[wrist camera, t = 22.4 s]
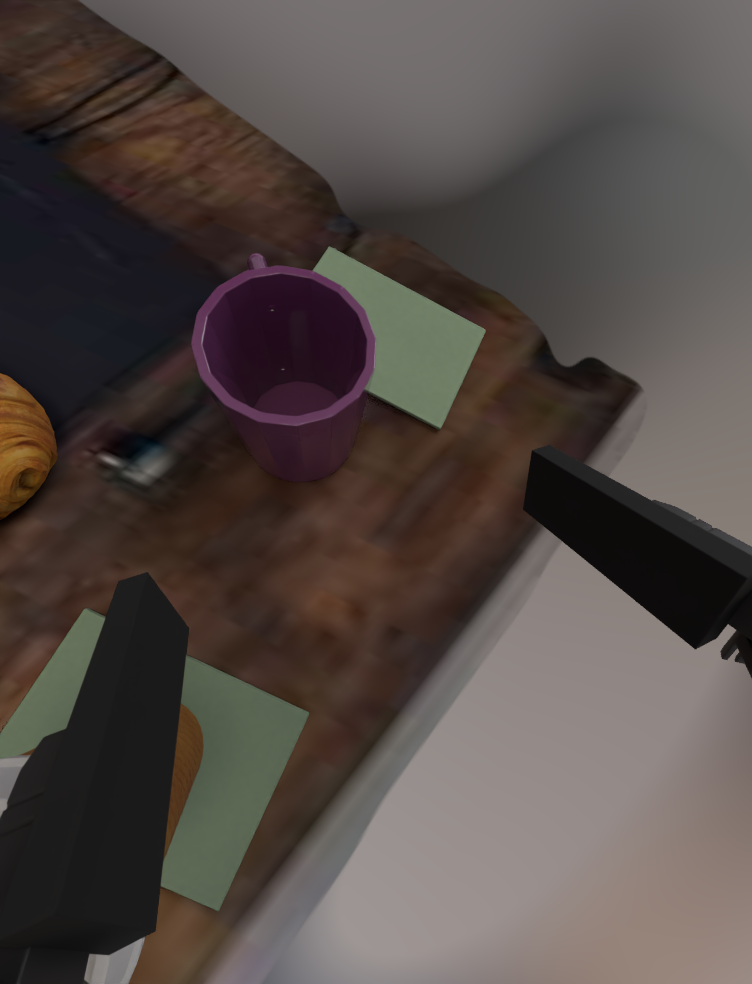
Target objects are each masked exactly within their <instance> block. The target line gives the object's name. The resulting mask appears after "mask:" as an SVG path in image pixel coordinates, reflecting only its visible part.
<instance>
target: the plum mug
mask: <svg viewBox="0 0 752 984" xmlns="http://www.w3.org/2000/svg"><path fill="white" fill-rule="evenodd" d="M247 264H248V269H249V270H247V271H244V272H243V273H241V274H239V275H237V276H236V277H234V278H232V279H230V280H228V281H227V282H225V283H223V284H221V285H219V286H218V287H217V288H216V289H215V290H214V291H213V293H212V294H211V295H210V297H209V298H208V299H207V301H206V302H205V303H204V304H203V306H202V307H201V308H200V310H199V311H198V313H197V316H196V321H195V326H194V332H193V337H192V342H191V347H192V351H193V354H194V358H195V361H196V365H197V368H198V372H199V375H200V377H201V379H202V381H203V383H204V384H205V386H206V387H207V389H208V390H209V392H210V394H211V395H212V397H213V398H214V400H215V401H216V403H217V405H218V406H219V408H220V409H221V411H222V413H223V414H224V416H225V417H226V419H227V420H228V422H229V424H230V425H231V427H232V428H233V430H234V432H235V433H236V435H237V436H238V438H239V439H240V441H241V443H242V444H243V446H244V447H245V449H246V451H247V452H248V453H249V454H250V456H251V457H252V458H253V459H254V461H255V462H256V463H257V464H258V465H259V466H260V467H261V468H262V469H263V470H265V471H266V472H267V473H269V474H271V475H272V476H274V477H277V478H279V479H282V480H286V481H291V482H311V481H315V480H319V479H321V478H324V477H326V476H328V475H330V474H332V473H333V472H334V471H336V470H337V469H338V468H339V467H340V466H341V465H342V464H343V463H344V462H345V461H346V459H347V458H348V456H349V455H350V453H351V450H352V448H353V446H354V444H355V441H356V437H357V434H358V430H359V426H360V422H361V419H362V415H363V411H364V407H365V404H366V400H367V396H368V393H369V389H370V385H371V381H372V378H373V374H374V370H375V359H376V342H377V340H376V337H375V334H374V331H373V329H372V326H371V324H370V321H369V318H368V316H367V313H366V311H365V309H364V308H363V307H362V306H361V305H360V304H359V303H358V302H357V301H356V300H355V299H354V297H353V296H352V295H351V294H350V293H349V292H348V291H347V290H346V289H345V288H344V287H343V286H341V285H339V284H337V283H336V282H334V281H332V280H330V279H328V278H326V277H324V276H322V275H321V274H319V273H317V272H314V271H311V270H305V269H299V268H293V267H287V266H272V267H268V264H267V261H266V259H265V258H264V257H263V256H262V255H261V254H258V253H253V254H251V255H250V256H249V258H248V261H247Z"/></svg>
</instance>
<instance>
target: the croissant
mask: <svg viewBox="0 0 752 984" xmlns="http://www.w3.org/2000/svg"><path fill="white" fill-rule="evenodd" d="M57 458H58V454H57V445H56V439H55V437H54V431H53V429H52V426H51V423H50V420H49V418H48V416H47V415H46V413H45V410H44V409H43V408H42V406H41V405H40V404H39V403H38V402H37V401H36V400H35V399H34V398H33V397H32V395H31V394H30V393H29V392H28V391H27V390H25V389H24V388H23V387H21V386H20V385H19V384H18V383H16V382H15V381H14V380H13V379H12V378H10V377H9V376H7V375H3V374H1V373H0V520H1V519H3V518H5V517H6V516H7V515H8V514H10V513H11V512H13V511H14V510H16V509H18V508H19V507H21V506H22V505H24V504H25V503H26V501H27V500H28V499H29V498H30V497H32V496H33V495H34V494H35V492H36V491H37V490H38V489H39V488H40V486H41V484H43V482H44V481H45V480H46V477H47V476H48V473H49V471H50V469H51V468H52V467H53V465H54V464H55V462H56V461H57Z"/></svg>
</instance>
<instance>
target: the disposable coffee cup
mask: <svg viewBox="0 0 752 984" xmlns="http://www.w3.org/2000/svg"><path fill="white" fill-rule="evenodd" d="M203 748H204V744H203V734H202V731H201V727H200V724H199V723H198V721H197V719H196V717H195V716H194V715H193V713H192V712H191V711H190V710H189V709H188V708H187V707H185V706H184V705H183V704H181V707H180V716H179V725H178V734H177V743H176V752H175V761H174V770H173V779H172V788H171V797H170V806H169V815H168V823H167V832H166V841H165V850H164V858H165V856H166V855H167V852H168V848H169V845H170V844H171V841H172V838H173V835H174V833H175V830H176V827H177V825H178V823H179V819H180V816H181V815H182V812H183V809H184V807H185V804H186V800H187V799H188V796H189V793H190V791H191V788H192V785H193V783H194V780H195V778H196V775H197V773H198V771H199V767H200V764H201V760H202V757H203ZM34 750H35V748H34V749H32V750H30V751H28V752H25V753H23V754H20V755H18V756H13V757H7V758H2V759H0V817H1V815H2V813H3V811H4V810H6V809H7V804H6V803H7V801H8V798H9V796H10V794H11V791H12V789H13V786H14V784H15V782H16V779H17V777H18V774H19V772H20V770H21V768H22V767H23V765H24V764H25V763H26V761H27V760H28V758H29V757H30V756H31V754H32V753H33V751H34ZM163 862H164V859H163ZM144 939H145V937H143V938H141V939H139V940H138V941H136V942H134V943H132V944H130V945H128V946H126V947H124V948H122V949H120V950H118V951H116V952H115V953H113V954H111V955H97V954H89V958H88V963H87V968H86V973H85V978H84V980H85V981H87V982H88V983H89V984H128V983H129V981H130V978H131V976H132V974H133V971H134V969H135V967H136V964H137V961H138V958H139V956H140V953H141V950H142V947H143V944H144Z"/></svg>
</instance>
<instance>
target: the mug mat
mask: <svg viewBox="0 0 752 984" xmlns="http://www.w3.org/2000/svg"><path fill="white" fill-rule="evenodd" d="M313 271H314V272H317V273H319V274H321V275H322V276H324V277H326V278H328V279H330V280H332V281H334V282H336V283H337V284H339V285H341V286H343V287H344V288H345V289H346V290H347V291H348V292H349V293H350V294H351V295H352V296H353V297H354V299H355V300H356V301H357V302H358V303H359V304H360V305H361V306H362V307H363V308H364V309H365V311H366V313H367V316H368V318H369V321H370V324H371V326H372V329H373V331H374V334H375V337H376V340H377V342H376V359H375V370H374V374H373V378H372V381H371V385H370V389H369V393H368V394H370V395H372V396H374V397H376V398H378V399H380V400H382V401H384V402H386V403H388V404H390V405H392V406H393V407H395V408H397V409H399V410H401V411H403V412H405V413H407V414H409V415H411V416H413V417H415V418H417V419H419V420H421V421H422V422H424V423H426V424H428V425H430V426H432V427H434V428H436V429H438V430H440V429H441V427H442V425H443V423H444V421H445V419H446V416H447V414H448V412H449V410H450V408H451V405H452V403H453V401H454V399H455V397H456V395H457V392H458V390H459V388H460V386H461V384H462V382H463V379H464V377H465V375H466V373H467V371H468V369H469V366H470V364H471V362H472V360H473V358H474V356H475V353H476V351H477V349H478V347H479V345H480V343H481V340H482V338H483V336H484V334H485V332H486V330H485V329H483V328H481V327H479V326H477V325H476V324H474V323H472V322H470V321H468V320H466V319H464V318H462V317H461V316H459V315H457V314H455V313H453V312H451V311H449V310H447V309H446V308H444V307H442V306H440V305H438V304H436V303H434V302H433V301H431V300H429V299H427V298H425V297H423V296H421V295H419V294H418V293H416V292H414V291H412V290H410V289H408V288H406V287H404V286H403V285H401V284H399V283H397V282H395V281H393V280H391V279H389V278H388V277H386V276H384V275H382V274H380V273H378V272H376V271H375V270H373V269H371V268H369V267H367V266H365V265H363V264H361V263H360V262H358V261H356V260H354V259H352V258H350V257H348V256H346V255H345V254H343V253H341V252H339V251H337V250H335V249H333V248H331V247H330V246H329V247H328V249H327V250H326V252H325V253H324V255H323V256H322V258H321V259H320V261H319V262H318V264H317V265H316V267H315V268H314V270H313Z"/></svg>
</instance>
